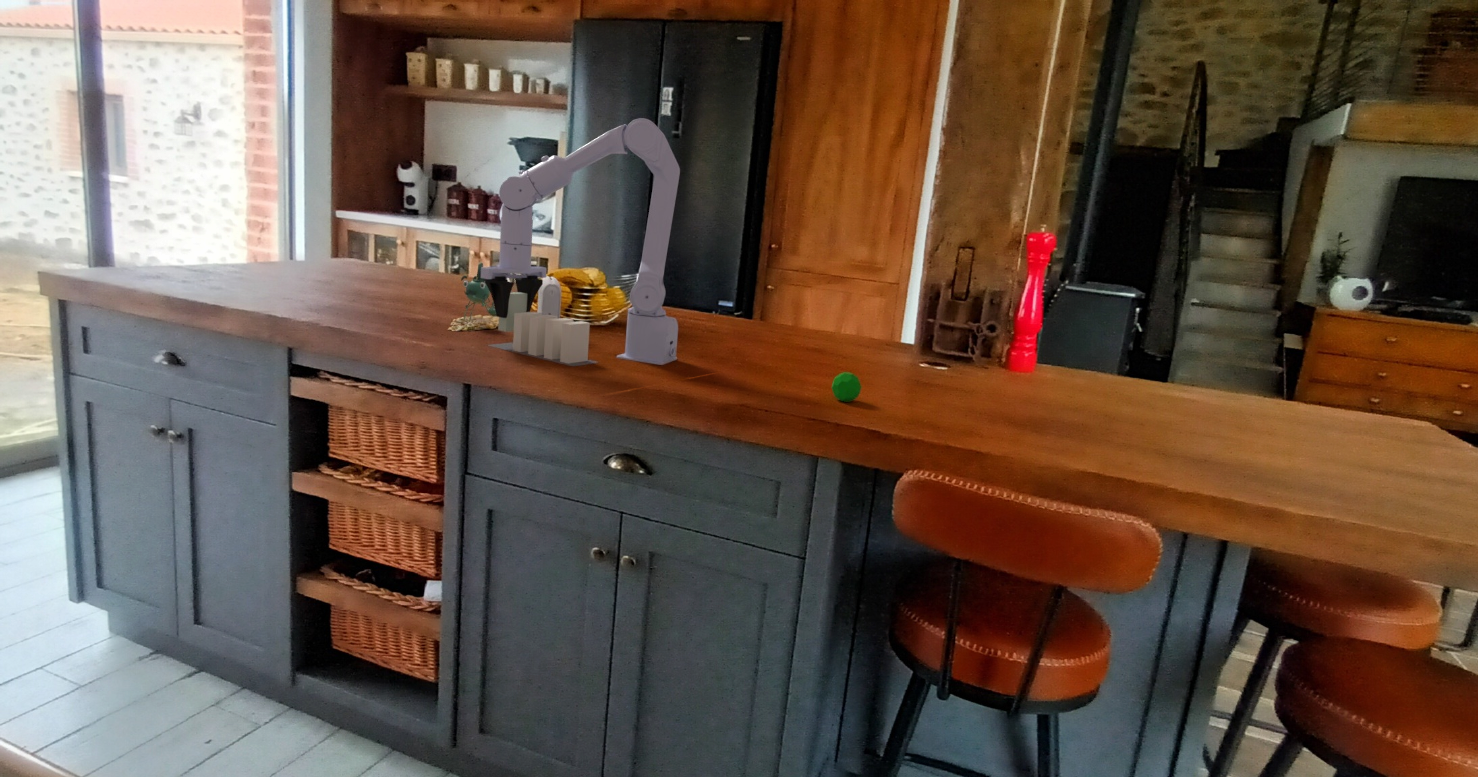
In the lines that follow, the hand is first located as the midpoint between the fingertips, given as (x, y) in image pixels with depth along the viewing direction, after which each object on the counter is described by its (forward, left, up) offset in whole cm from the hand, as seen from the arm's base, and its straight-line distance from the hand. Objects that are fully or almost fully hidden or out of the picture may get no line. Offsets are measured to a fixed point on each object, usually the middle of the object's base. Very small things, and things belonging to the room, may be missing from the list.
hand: (512, 316), depth 164 cm
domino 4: (-16, +4, -6) cm, 17 cm away
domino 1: (-4, +1, -6) cm, 7 cm away
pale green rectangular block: (0, 0, -3) cm, 3 cm away
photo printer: (+2, -18, -6) cm, 19 cm away
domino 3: (-12, +3, -6) cm, 13 cm away
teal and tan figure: (+17, -16, -6) cm, 24 cm away
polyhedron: (-65, -1, -6) cm, 65 cm away
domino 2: (-8, +2, -6) cm, 10 cm away
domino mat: (-8, +2, -6) cm, 10 cm away
